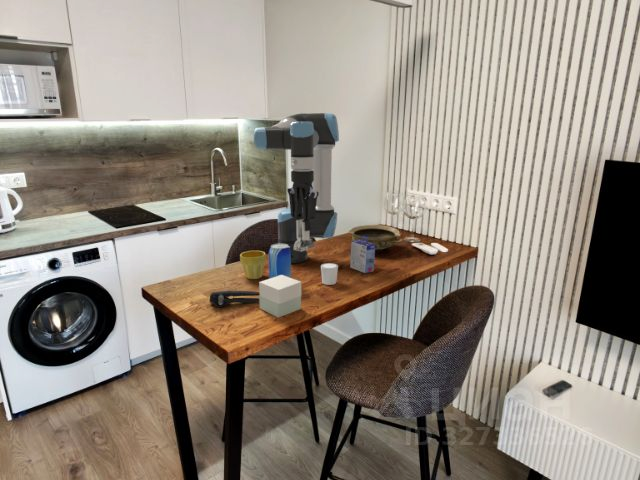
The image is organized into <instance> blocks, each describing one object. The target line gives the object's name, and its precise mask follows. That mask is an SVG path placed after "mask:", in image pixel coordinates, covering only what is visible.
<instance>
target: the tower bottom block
mask: <svg viewBox="0 0 640 480" xmlns="http://www.w3.org/2000/svg"><path fill="white" fill-rule="evenodd" d="M258 299H259V309H260V310H262V311H264V312H266V313H269V314H271V316H274V317H276V318H277V319H278V318H281V317H284V316H285V315H288V314H291V313H293V312H296V311H299V310H301V309H302V295H301V296H299V297H297V298H294V299H292V300H289V301H287V302H284V303H281V304H277V303H275V302H272V301H270V300H268V299H266V298H263V297H261V296H260V295H259V297H258Z"/></svg>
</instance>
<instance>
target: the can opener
mask: <svg viewBox="0 0 640 480" xmlns="http://www.w3.org/2000/svg"><path fill="white" fill-rule="evenodd" d="M254 296H255V297H256V298H255V297H254ZM257 296H260V291H255V290H254V291H252V290H230V289H226V290H223V291H213V292H211V293H210V295H209V302H210V303H211V304H213V306H216V307H218V308H224V307H225V306H227V305H229V304H235V303H237V304H238V303H239V304H240V303H241V304H255V303H260V301H259V297H257ZM230 297H232V298H230Z"/></svg>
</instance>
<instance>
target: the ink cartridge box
mask: <svg viewBox="0 0 640 480" xmlns="http://www.w3.org/2000/svg"><path fill="white" fill-rule="evenodd" d="M363 238H366V239H367V240H363ZM368 238H369V237H366V236H363V237H362V239H361V240H355V241H353V240H352V241H351V245H350V267H349V268H351V269H353V270H356V271H358V272H361V273H364V274H369V273H372V272H374V271H375V258H376V257H375V255H376V254H375V253H376V252H375V244H373V243H370V242H367V241H368Z"/></svg>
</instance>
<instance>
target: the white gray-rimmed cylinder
mask: <svg viewBox="0 0 640 480" xmlns="http://www.w3.org/2000/svg"><path fill="white" fill-rule="evenodd" d="M338 270H339V265H338V264H336V263H332V262H328V263H327V262H326V263H322V264H321V265H320V272H321V284H323V285H326V286H331V285H332V286H333V285H336V284H337V280H338V272H339V271H338Z"/></svg>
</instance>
